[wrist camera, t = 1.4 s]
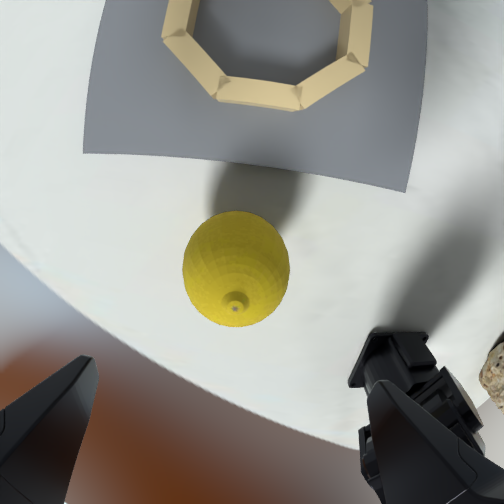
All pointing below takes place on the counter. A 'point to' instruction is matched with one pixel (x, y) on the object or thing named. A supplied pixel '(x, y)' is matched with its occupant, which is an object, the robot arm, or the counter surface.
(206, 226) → the lemon
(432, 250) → the counter surface
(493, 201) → the counter surface
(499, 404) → the rock
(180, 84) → the plate
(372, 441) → the robot arm
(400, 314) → the counter surface
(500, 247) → the counter surface
